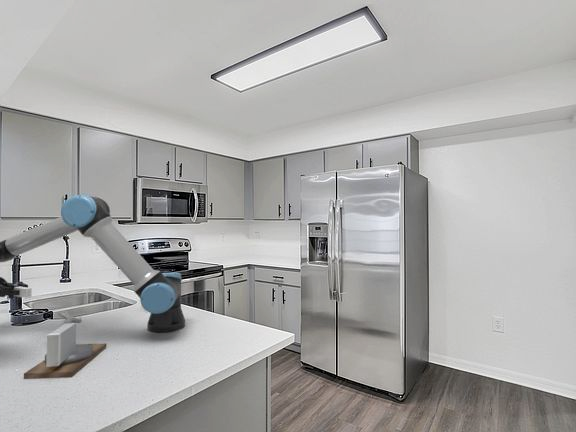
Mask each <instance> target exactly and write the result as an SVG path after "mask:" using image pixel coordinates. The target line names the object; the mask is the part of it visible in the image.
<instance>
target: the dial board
mask: <svg viewBox="0 0 576 432" xmlns="http://www.w3.org/2000/svg"><path fill="white" fill-rule="evenodd" d="M86 344H87V345H91V346H93V354H92V355H91V356H90V357H89V358H87V359H85V360H82V361H79V362H76V363H72V364H67V365H59V366H51V367H46V363H45V359H44V360H42V361H41V362H39V363H38V364H36V365H35V366H33V367H31V368H30V369H28V370H27V371H25V372H24V373H23V379H24V380H27V379H28V380H29V379H51V378H52V379H55V378H56V379H58V378H73V376H75V375H76V374H77V373H78V372H80V371H81V370H82V369H83V368H84V367H86V366H87V365H88V364H89V363H90V362H91V361H92V360H94V359H95V358H97V356H98V355H100V354H101V353H102V352H103V351H105V350H106V349H107V343H86Z"/></svg>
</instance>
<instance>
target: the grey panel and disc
mask: <svg viewBox="0 0 576 432" xmlns="http://www.w3.org/2000/svg"><path fill="white" fill-rule="evenodd" d="M76 334H77V323H76V322H74V323H67V324H65V323H64V324H63V325H61V326H60V327H58V328H57V329H55V330H54V331H51V332H50V333H48V334H47V335H46V354H44V360H45V363H46V367H51V366H59V365H67V364H72V363H76V362H79V361H82V360H85V359H87V358H89V357H90V356H91V355H92V354H93V346H91V345H87V344H88V343H78V344H77V343H76V342H77V335H76Z"/></svg>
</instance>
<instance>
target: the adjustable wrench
mask: <svg viewBox="0 0 576 432" xmlns="http://www.w3.org/2000/svg"><path fill="white" fill-rule="evenodd" d="M57 314H58V316H60V317H61V318H62V319H64V320H65V321H64V324H67V323H76V324H81V323H82V317H74V316H72V315H70V314H69V313H68V312H67V311H65V310H58V311H57Z"/></svg>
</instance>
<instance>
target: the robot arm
mask: <svg viewBox="0 0 576 432" xmlns="http://www.w3.org/2000/svg"><path fill="white" fill-rule="evenodd" d="M60 215H61V216H60V217H57V218H55V219H53V220H50V221H48V222H45V223H43V224H40V225H38V226H35V227H33V228H29V229H28V230H25V231H23V232H20V233H19V234H16V235H13V236H11V237H9V238H6V239H4V240H1V241H0V263H7V262H9V261H12V260H14V259H15V258H16V257H18V256H21V255H22V254H24V253H26V252H30V251H31V250H35V249H36V248H39V247H41V246H44V245H47V244H49V243H51V242H53V241H56V240H58V239H61V238H63V237H65V236H67V235H70V234H73V233H75V232H79V233H80V234H81V235H82V236H83V237H84V238H91V240H93V241H94V242H95V244H96V245H97V246H98V247H99V248H100V249H101V250H102V252H103V253H105V255H106V256H107V257H108V258H109V259H110V260H111V261H112V262H113V264H114V265H116V267H117V268H118V269H119V270H120V272H122V273H123V275H124V276H126V278H127V279H128V280H129V281H130V282H131V283H132V285H134V290H133V291H134V293H135V294H136V295H137V296H138V297H139V298H140V300H139V301H140V304H141V306H142V308H143V309H144V311H146V312H148V313H150V315H149V318H148V321H147V327H146V329H147V331H149V332H154V333H168V332H174V331H177V330H178V331H179V330H181V329H183V328H184V327H185V326H186V318H185V316H184V313H183V309H182V280H183V279H182V274H181V273H179V272H162V271H160V270H157V269H156V270H155V269H153V267H152V266H151V265H150V264H149V263H148V261H146V260H145V258H144V257H142V255H141V254H140V253H139V252H138V251H137V250H136V249H135V247H134V246H133V245H132V244H131V243H130V242H129V241H128V239H126V237H125V236H124V235H123V234H122V233H121V231H119V230H118V229H117V227H116V226H115V224H113V223H112V222H113V216H111V209H110V206H109V204H108V203H107V202H106V201H105V200H104V199H102V198H100V197H96V196H90V195H85V194H77V195H73V196H70V197H69V198H67V199H66V200H65V201H64V202H63V203H62V206H61V210H60ZM32 296H33V295H32V287H29V285H28V284H27V283H24V281H18V282H15V284H14V283H12V282H8V281H7V280H6V279H5V278H4V277H1V276H0V298H5V297H8V299H13V298H14V297H18V298H25V299H27V298H32Z"/></svg>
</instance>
